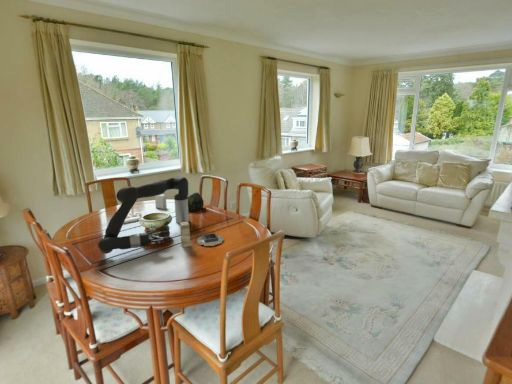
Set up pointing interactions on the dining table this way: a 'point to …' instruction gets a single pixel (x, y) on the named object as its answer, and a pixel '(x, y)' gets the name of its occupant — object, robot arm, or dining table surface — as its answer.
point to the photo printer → (160, 201)
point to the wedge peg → (185, 234)
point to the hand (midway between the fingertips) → (169, 235)
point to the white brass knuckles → (133, 217)
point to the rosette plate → (209, 239)
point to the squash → (195, 202)
